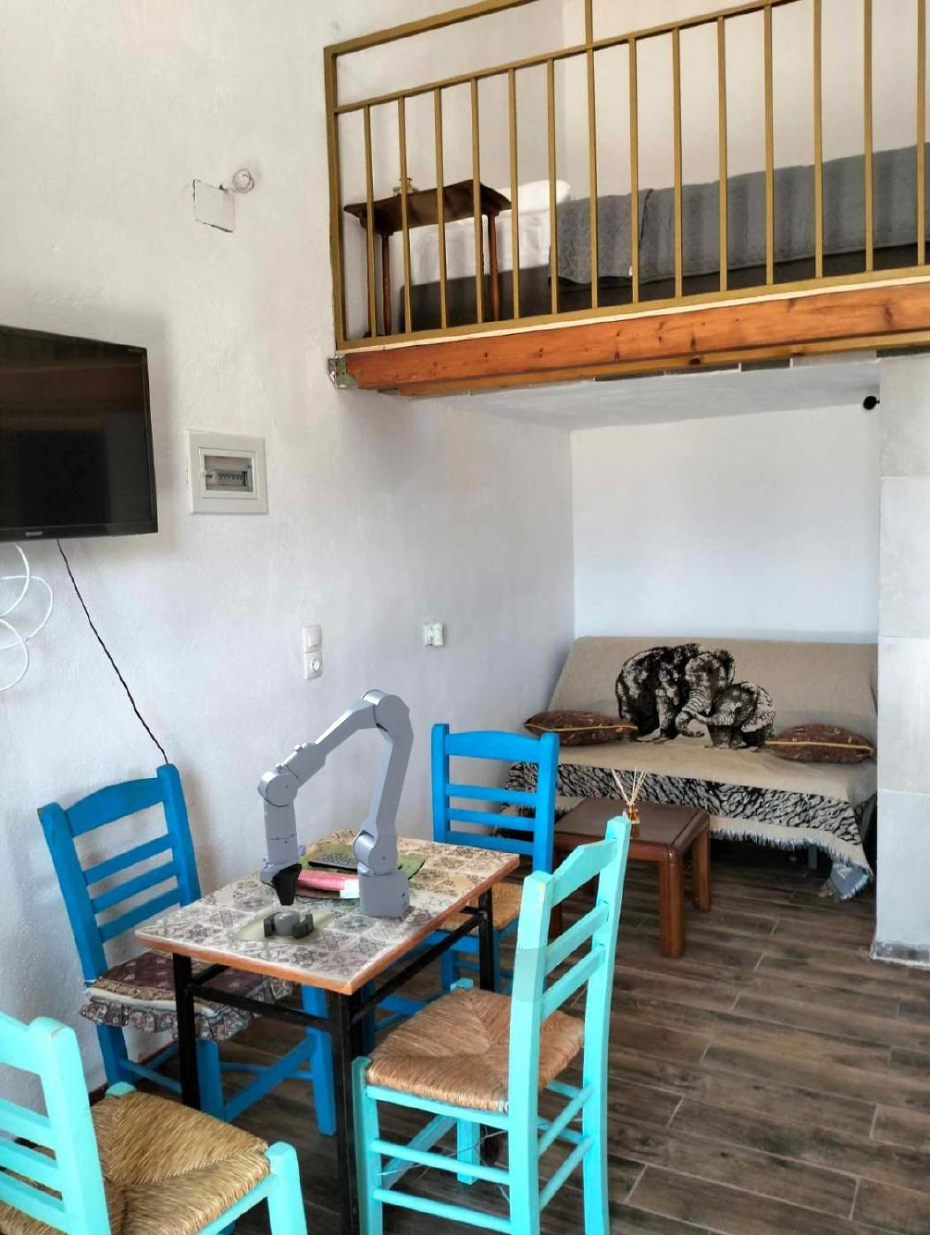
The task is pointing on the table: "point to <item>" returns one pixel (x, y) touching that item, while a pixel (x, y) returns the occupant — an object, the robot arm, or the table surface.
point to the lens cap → (286, 922)
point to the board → (256, 932)
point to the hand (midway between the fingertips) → (287, 904)
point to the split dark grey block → (298, 929)
